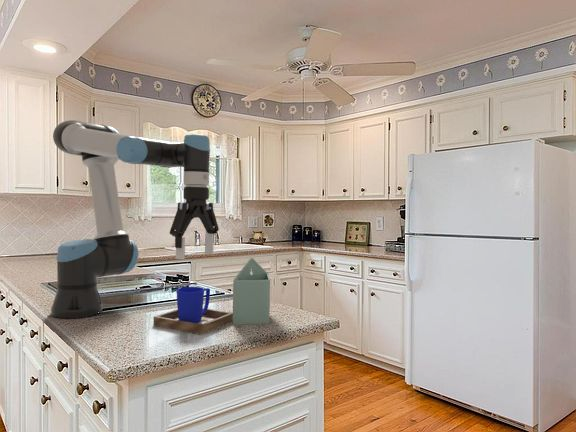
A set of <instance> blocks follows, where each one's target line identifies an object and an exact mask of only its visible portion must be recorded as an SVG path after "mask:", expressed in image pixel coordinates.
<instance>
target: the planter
mask: <svg viewBox="0 0 576 432" xmlns="http://www.w3.org/2000/svg"><path fill="white" fill-rule="evenodd" d="M234 277H235V278H234V279H233V283H232V285H233V286H232V313H233V322H232V325H234V324H236V325H259V324H260V325H263V324H264V323H265V324H270V305H271V278H270V275H269V273H268V272H267V271H266V270H265V269H264V268H263V266H261V265H260V264H259V263H258V262H257V261H256V260H255V258H253V257H250V258H249V259H248V261H247V262H246V263H245V265H244V266H243V267H242V268H241V270H240V271H239V272H238V273H237V275H236V276H234Z"/></svg>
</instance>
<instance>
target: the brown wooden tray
mask: <svg viewBox="0 0 576 432" xmlns="http://www.w3.org/2000/svg"><path fill="white" fill-rule="evenodd" d="M203 309H204V307H203ZM202 311H203V310H202ZM152 322H153V326H155V327H161V328H165V329H171V330H175V329H176V331H180V330H181V331H180V332H185V331H187V332H186V333H190V332H192V333H191V334H195V333H198V334H197V335H200V334H203V335H205V334H207V333H206V332H208V331H210V332H212V331H214V330H213V329H215V330H216V328H217V329H219V328H222V327H224V326H226V325H228V323H229V324H231V323H233V312H230V311H225V310H218V309H214V308H213V309H211V308H208V309H207V311H206V312H205V313H203V314H202V319H201V321H200V322H199V323H191V322H186V321H181V320H179V319H178V308H177V309H173V310H171V311H167V312H165V313H161V314H157V315H155V316H153V321H152ZM223 325H224V326H223ZM221 326H222V327H221ZM218 327H219V328H218ZM211 330H212V331H211ZM204 333H205V334H204ZM208 333H209V332H208Z"/></svg>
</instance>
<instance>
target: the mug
mask: <svg viewBox="0 0 576 432" xmlns="http://www.w3.org/2000/svg"><path fill="white" fill-rule="evenodd" d="M175 293H176V305H177V309H178V319H179V320H181V321H186V322H191V323H199V322H200V321H201V319H202V314H203V313H205V312H206V311H207V309H209V305H210V295H211V289H210V288H207V287H206V288H205V287H204V288H203V287H199V286H184V287H180V288H176V292H175ZM204 296H205V297H204ZM204 299H205V301H204ZM203 308H204V309H203ZM202 310H203V311H202Z"/></svg>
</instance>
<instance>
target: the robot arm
mask: <svg viewBox="0 0 576 432" xmlns="http://www.w3.org/2000/svg"><path fill="white" fill-rule="evenodd" d="M52 138H53V143H54V145H55V146H56V147H57V149H59V150H60V151H62V152H64V153H66V154H68V155H73V156H81V161H82V165H85V166H86V167H87V169H88V176H89V177H88V178H89V183H90V190H91V198H92V205H93V210H94V211H93V213H94V217H95V226H96V235H95V236H94V238H93V239H92V238H91V239H85V238H84V239H76V240H71V241H67V242H64V243H61V244H60V245H59V246H58V247H57V254H56V261H57V262H56V263H57V269H56V270H57V274H56V275H57V281H56V283H57V286H56V287H57V289H56V290H57V291H56V294H55V297H54V299H53V303H52V305H51V308H50V315H51V316H52V317H54V318H58V319H78V318H79V319H80V318H87V317H91V316H95V315H94V314H96V313H98V312H101V311H102V310H103V308H104V307H103V302H102V299H101V295H100V293H99V292H100V291H99V290H98V278H102V277H110V276H115V275H116V276H117V275H122V274H125V273H129V272H130V271H132V270H133V269H134V268H135V266H136V265H137V263H138V260H139V248H138V245H137V244H136V243H135V241H133V240H131V239H130V235H129V233H128V232H126V231H125V230H124V227H123V220H122V219H123V218H122V212H121V211H122V210H121V205H120V197H119V191H118V185H117V184H118V183H117V178H116V177H117V176H116V171H115V169H116V168H115V165H116V164H117V162H118V160H119V161H121V162H123V163H128V164H131V165H146V166H147V165H148V166H155V167H156V166H157V167H161V168H168V169H170V168H183V185H184V187H183V199H184V200H185V202H182V201H181V202H180V201H179V202H178V203H177V207H176V208H177V210H176V213H175V215H174V219H173V221H172V225H171V226H170V227H171V228H170V230H169V235H171V236H172V237H174V247H175V259H176V260H185V259H186V236H184V235H185V232H186V231H187V229H188V227H189V225H190V224H191V222H192V220H194V219H195V218H198V219H200V221H201V223H202V226H203V227H204V229H205V231H206V232H205V233H204V234H205V235H204V255H214V243H215V235H216V234H217V233H218V232H219V231H220V228H219V224H218V221H217V218H216V214H215V212H214V203H213V202H210V201H209V202H207V200H209V199H210V188H209V187H208V186H210V158H211V157H210V156H211V155H210V154H211V146H210V137H209V136H207V135H205V134H198V133H188V134H185V135H184V140H183V141H182V142H170V141H163V140H158V139H157V140H156V139H152V138H151V139H149V138H144V137H139V136H133V135H127V134H126V135H125V134H121V133H119V131H117V130H116V129H115V128H114V127H112V126H108V125H105V124H99V123H98V124H97V123H91V122H84V121H81V120H76V119H75V120H64V121H62V122H60V123H59V124H58V125H56V127H55V128H54V130H53V133H52ZM102 312H103V311H102ZM102 312H101V313H102ZM96 315H97V314H96Z"/></svg>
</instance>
